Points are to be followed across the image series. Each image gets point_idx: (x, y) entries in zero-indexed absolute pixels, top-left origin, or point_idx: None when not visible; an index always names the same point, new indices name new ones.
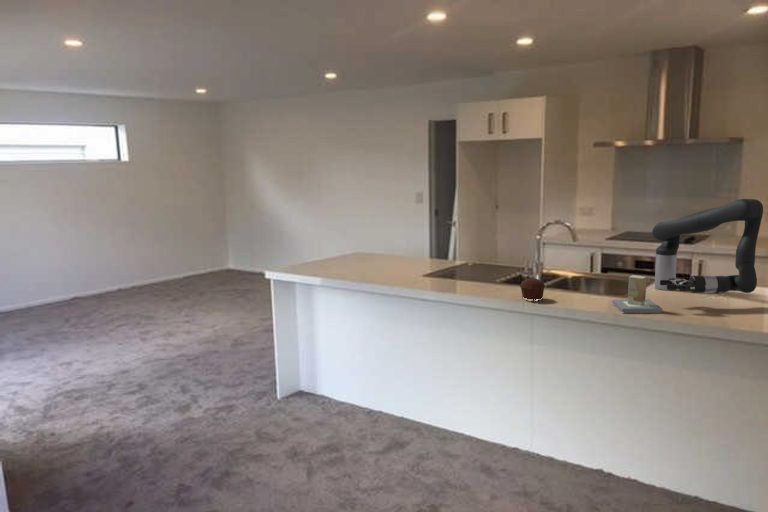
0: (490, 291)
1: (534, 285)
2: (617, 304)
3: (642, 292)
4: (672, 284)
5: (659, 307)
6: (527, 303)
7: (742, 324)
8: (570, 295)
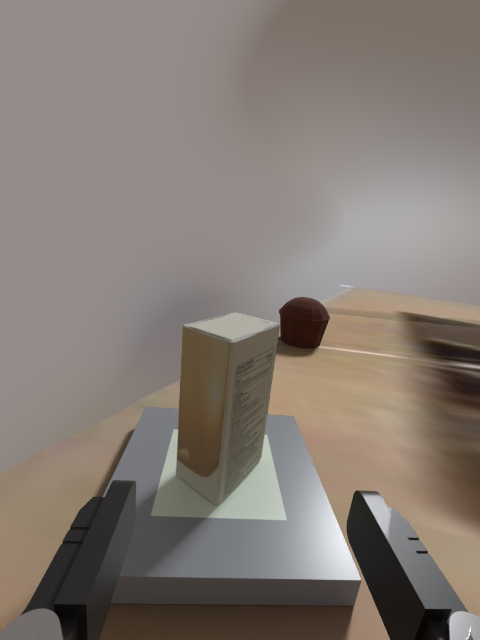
0: (343, 326)
1: (285, 306)
2: None
3: (181, 410)
4: (90, 532)
5: None
6: None
7: None
8: (372, 382)
